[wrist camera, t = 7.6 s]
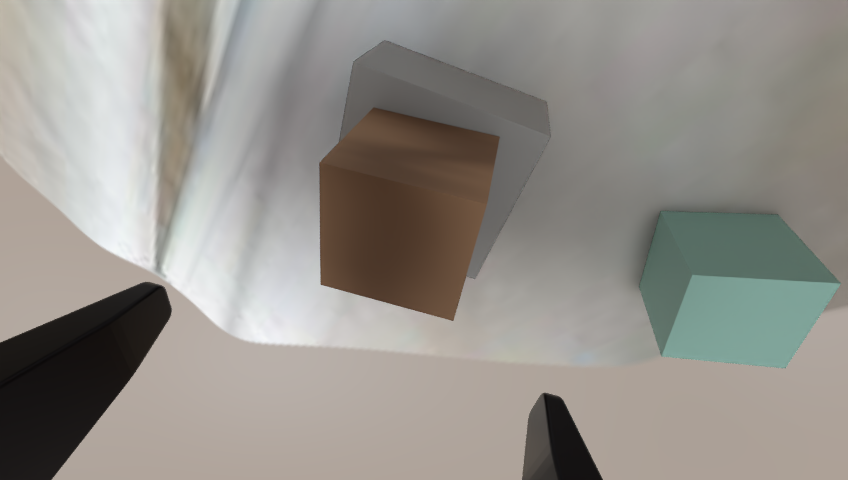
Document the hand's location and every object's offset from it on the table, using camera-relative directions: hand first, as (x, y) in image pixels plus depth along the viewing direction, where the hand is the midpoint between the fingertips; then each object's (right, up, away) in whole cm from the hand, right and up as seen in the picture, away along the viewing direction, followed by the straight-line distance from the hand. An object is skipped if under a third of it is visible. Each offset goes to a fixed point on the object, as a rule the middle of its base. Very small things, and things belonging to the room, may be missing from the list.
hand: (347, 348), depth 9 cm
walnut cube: (+2, +5, +6) cm, 8 cm away
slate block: (+3, +7, +9) cm, 12 cm away
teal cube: (+15, +2, +10) cm, 18 cm away
